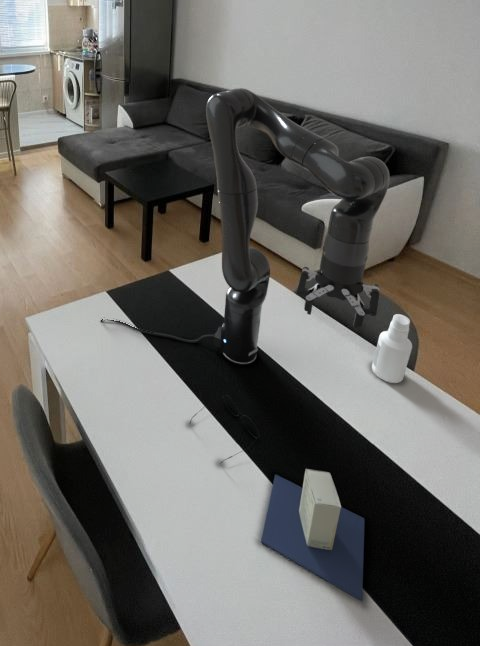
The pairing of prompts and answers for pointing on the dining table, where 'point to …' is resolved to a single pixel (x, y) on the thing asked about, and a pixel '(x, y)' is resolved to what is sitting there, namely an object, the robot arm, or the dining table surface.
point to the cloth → (330, 565)
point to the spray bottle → (393, 351)
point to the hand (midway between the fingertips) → (331, 318)
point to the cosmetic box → (319, 509)
